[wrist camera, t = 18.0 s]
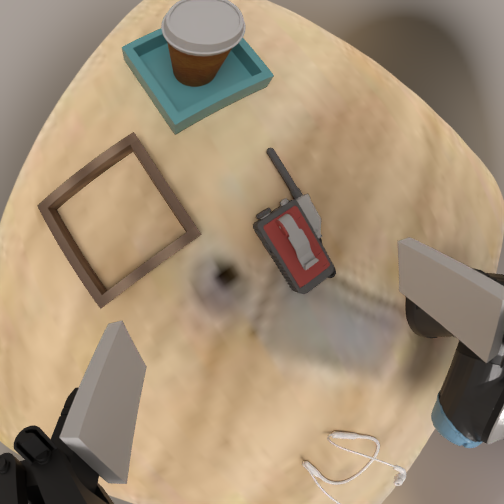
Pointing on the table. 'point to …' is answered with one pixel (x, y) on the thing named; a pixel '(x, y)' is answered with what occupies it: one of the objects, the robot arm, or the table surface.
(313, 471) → the earphone
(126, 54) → the teal tray
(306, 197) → the walkie-talkie
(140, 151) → the walnut cup stand
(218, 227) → the table surface
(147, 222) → the table surface
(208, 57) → the disposable coffee cup
